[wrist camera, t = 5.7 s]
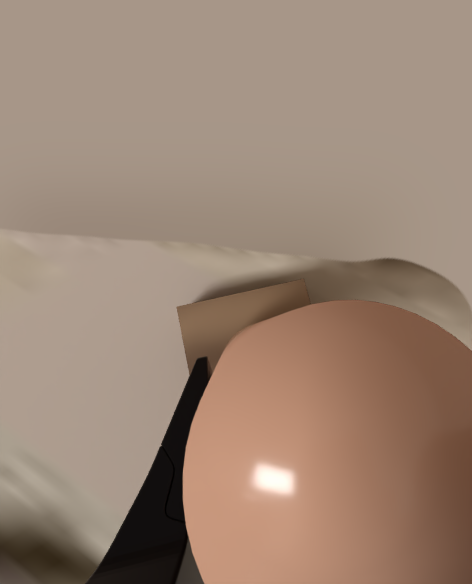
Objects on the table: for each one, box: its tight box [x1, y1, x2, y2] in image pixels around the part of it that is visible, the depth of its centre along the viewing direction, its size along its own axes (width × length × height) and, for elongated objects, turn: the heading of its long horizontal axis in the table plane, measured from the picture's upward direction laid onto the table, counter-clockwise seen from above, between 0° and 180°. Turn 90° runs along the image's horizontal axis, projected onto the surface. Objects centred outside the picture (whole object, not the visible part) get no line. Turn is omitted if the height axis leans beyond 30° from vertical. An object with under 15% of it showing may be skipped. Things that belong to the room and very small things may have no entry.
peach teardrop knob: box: [183, 300, 472, 584], centre depth 10 cm, size 5×5×13 cm
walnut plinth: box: [177, 279, 311, 374], centre depth 20 cm, size 10×10×3 cm
